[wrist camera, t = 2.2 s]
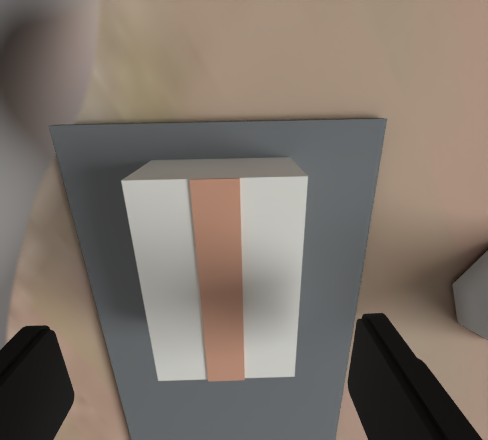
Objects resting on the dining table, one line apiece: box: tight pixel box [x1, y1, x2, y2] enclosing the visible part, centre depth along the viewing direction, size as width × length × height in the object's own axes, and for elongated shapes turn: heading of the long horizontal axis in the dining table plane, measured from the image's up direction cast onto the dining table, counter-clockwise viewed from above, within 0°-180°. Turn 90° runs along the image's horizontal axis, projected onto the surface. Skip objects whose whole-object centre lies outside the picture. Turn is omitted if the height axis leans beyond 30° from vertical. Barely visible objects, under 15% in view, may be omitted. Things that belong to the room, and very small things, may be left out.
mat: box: [49, 118, 387, 440], centre depth 17 cm, size 24×14×1 cm, turn 1°
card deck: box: [121, 157, 308, 381], centre depth 13 cm, size 9×6×4 cm, turn 1°
